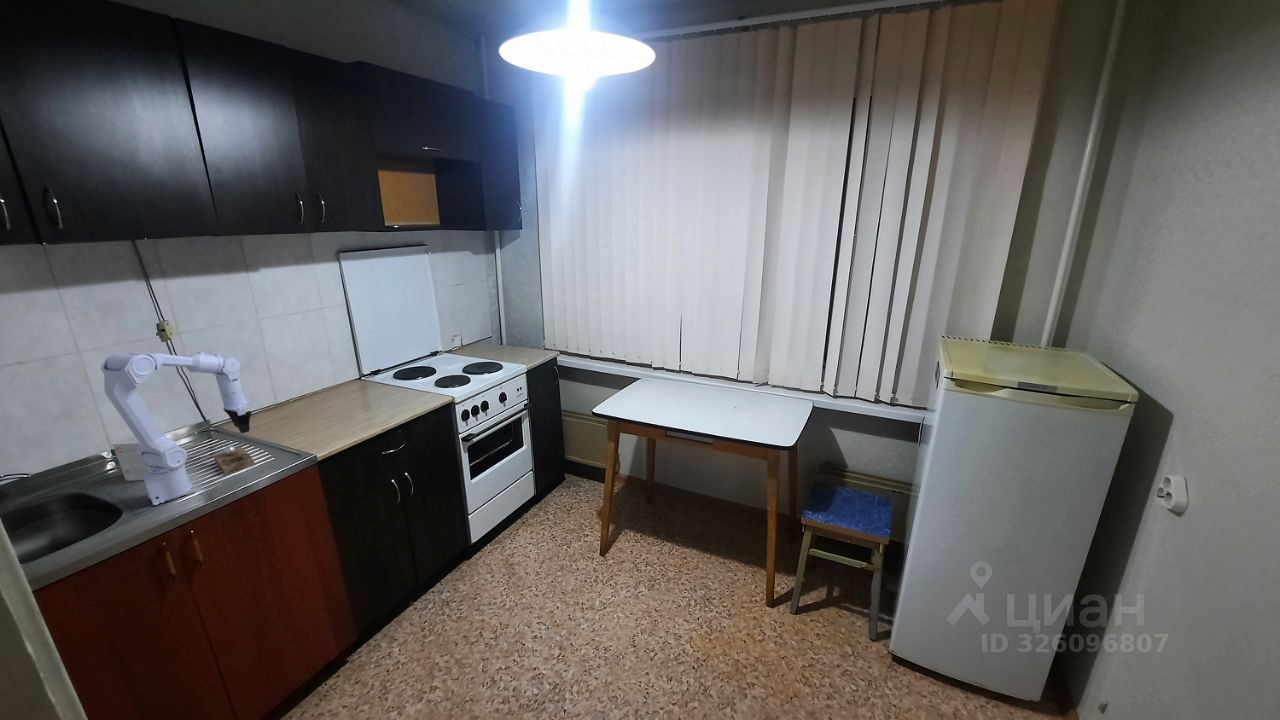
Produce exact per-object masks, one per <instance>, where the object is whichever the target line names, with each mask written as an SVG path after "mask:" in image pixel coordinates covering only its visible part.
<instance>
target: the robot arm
mask: <svg viewBox="0 0 1280 720" xmlns="http://www.w3.org/2000/svg"><path fill="white" fill-rule="evenodd" d="M163 366H164V367H176V368H177V367H178V368H179V367H181V368H185V369H186V370H187V371H188V372H190V373H199V374H200V373H201V374H212V375H214V376H215V379H216V382H217V386H218V390H219V393H220V396H221V399H222V404H223V408H222V410H223V411H224V412H225V413H226V415H228V417H229V418H230V421H232V423H233V425H234V426H235V428H238V430H239V432H240V433H241V434H245V433H249V432H250V422H251V421H250V420H251V416H252V411H251V410H249V411H246V410H245V409H246V407H247V405H248V404H251V400H250V399H246V397H245V393H244V391H243V386H242V383H241V379H240V369H241V366H242V364H241V362H239V360H237V359H235V357H233V356H221V355H220V354H218V353H217V354H213V355H212V354H205V352H202V351H201V352H199V351H198V352H196V353H191V354H189V355H188V356H182V355H174V354H173V355H172V354H165V353H154V352H152V353H151V352H128V353H123V352H114V353H112V354H110V355H108V356H107V357H106V358H105V360H104V361H103V362H102V364H101V366H100V370H101V371H102V373H103V377H104V378H103V379H104V381H103V383H104V393H105V395H106V397H107V398H108V400H109V401H110V402H111V404H112V405H113V406H114V408H115V409H116V411H117V412H118V414H119V415H120V417H121V419H122V420H123V421H124V422H125V425H127V426H128V428H129V430H130V431H131V433H132V434H133V436H135V437H136V438H137V440H138V441H139V442H140V444H141V445H140V446H139V447H138V448H137V450H138V451H139V453H140V461H141V463H142V464H144V465H145V466H148V467H149V469H150V471H151V472H149V473H147V474H144V475H142V477H143V480H142V481H143V482H144V484H145V487H146V489H147V492H146V495H147V498H148V499H150V501H151V503H152V506H153V505H157V504H159V502H161V503H162V502H164V500H166V499H169V498H172V497H176V496H178V495H181V494H183V493H186V492H187V491H189V490H191V488H192V487H194V485H193V483H192V482H191V481H190V478H189V475H188V472H187V469H186V466H185V465H186V462H187V460H188V453H187V451H186V449H184V448H183V447H180V446H179V445H178V443H177V442H176V441H174V440H172V438H170V437H167V435H165V433H164V432H163V430H162V429H161V427H160V426H159V424H158V423H157V421H156V420H155V418H154V417H153V415H152V414H151V411H150V410H149V409H148V407H147V406H146V404H145V403H144V401H143V399H142V398H141V397H140V395H139V394H138V392H137V390H138V388H139V387H140V386H141V385H142V384H143V383H144V382H145V381H147V379H148V378H149V377H150V376H151V375H152V374H153V373H154V371H155V370H156V371H157V370H158V371H159V370H160V369H161V367H163ZM157 506H158V505H157Z"/></svg>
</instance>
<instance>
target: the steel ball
mask: <svg viewBox="0 0 1280 720" xmlns="http://www.w3.org/2000/svg"><path fill="white" fill-rule="evenodd" d="M236 449H237V448H236V447H235V446H234V445H227V446H225V447H223V450H222V451H223V452H222V453H224V454H226V455H232V454H234V453H235V451H236Z"/></svg>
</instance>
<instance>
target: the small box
mask: <svg viewBox="0 0 1280 720" xmlns="http://www.w3.org/2000/svg"><path fill="white" fill-rule="evenodd" d="M140 445H141V444H140V442H139V441H138V440H137V438H136V437H135V435H129V436H126V437H125V438H122V439H120V440H119V441H116V442H114V443H113V444H112V445H111V446H112V447H113V449H114V452H115V455H116V458H117V461H118V463H119V465H120V466H119V467H120V468H121V471H122V473H123V476H124V479H125V481H126V482H130V481H144V480H143V477H142V475H144V474H147V473H149V472H151V471H150V469H149V467H148V466H145V465H144V464H142V463H141V461H140V453H139V451H138V450H137V448H138V447H139V446H140Z"/></svg>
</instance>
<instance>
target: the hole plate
mask: <svg viewBox="0 0 1280 720" xmlns="http://www.w3.org/2000/svg"><path fill="white" fill-rule="evenodd" d="M235 449H236V451H235V453H234V454H232V455H226V454H224V452H222V453H219V454H215V455H213V459H214V462H215V464H216V466H217V467H218V468H219V470H220V471H221V472H222V473H223V475H224V476H227V475H230V474H232V473H231V472H234V471H237V472H239V471H238V470H240V471H242V470H241V469H243V470H245V469H244V468H246V467H248V466H251V465H254V464H255V461H254V458H253V457H252V456H251V455H250V454H249V453H248V451H247V450H246V449H244V447H242V446H241V447H239V448H235ZM246 469H247V468H246ZM229 473H230V474H229ZM234 473H235V472H234ZM226 474H227V475H226Z"/></svg>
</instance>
